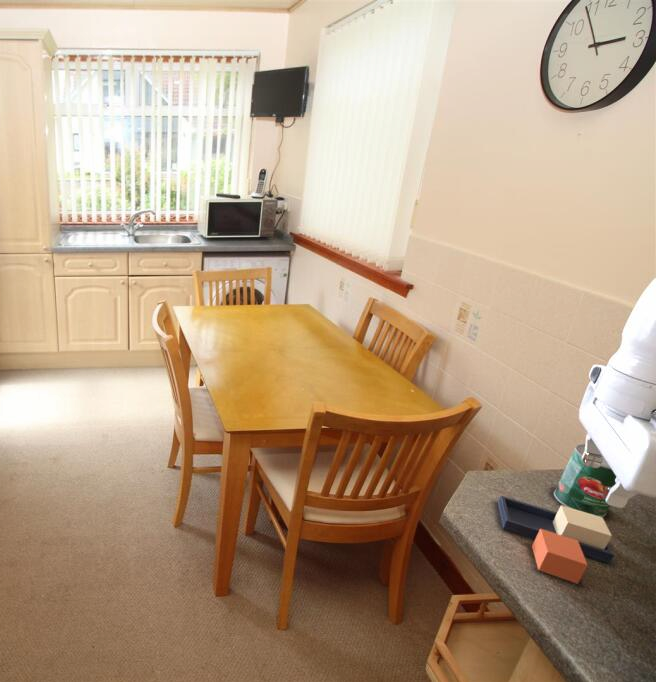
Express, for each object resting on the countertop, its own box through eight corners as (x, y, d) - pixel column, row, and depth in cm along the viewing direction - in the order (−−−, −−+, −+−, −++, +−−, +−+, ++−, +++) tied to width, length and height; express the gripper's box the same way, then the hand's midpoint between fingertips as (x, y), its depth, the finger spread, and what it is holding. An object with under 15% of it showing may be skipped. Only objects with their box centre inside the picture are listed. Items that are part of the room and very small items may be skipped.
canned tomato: (584, 519, 88) (608, 471, 84) (543, 491, 95) (564, 445, 91) (617, 515, 89) (643, 467, 85) (575, 487, 96) (597, 442, 92)
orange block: (531, 546, 81) (540, 528, 80) (568, 558, 79) (577, 540, 77) (538, 570, 76) (547, 551, 75) (577, 584, 74) (588, 565, 73)
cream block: (593, 534, 84) (602, 517, 82) (602, 554, 79) (612, 536, 78) (552, 522, 86) (560, 504, 85) (558, 540, 82) (567, 522, 80)
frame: (595, 534, 85) (600, 525, 84) (609, 564, 78) (614, 555, 77) (497, 503, 91) (500, 495, 90) (502, 529, 85) (506, 520, 84)
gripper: (724, 442, 50) (664, 541, 56) (644, 371, 67) (604, 452, 72) (645, 425, 53) (595, 521, 58) (588, 361, 70) (553, 440, 75)
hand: (600, 482), depth 65 cm, fingers open, 8 cm apart
